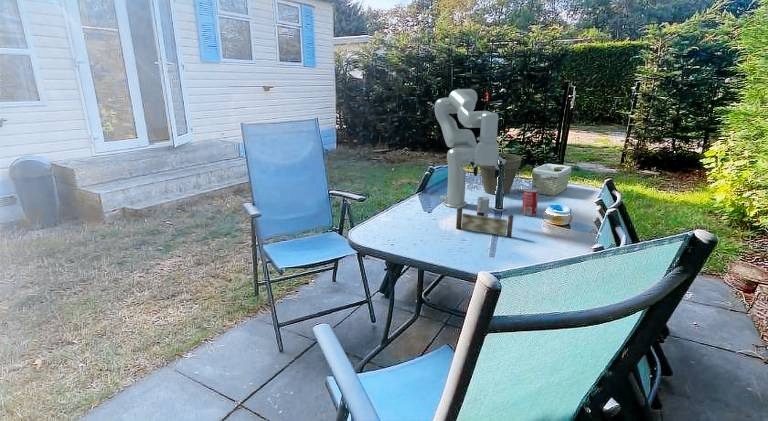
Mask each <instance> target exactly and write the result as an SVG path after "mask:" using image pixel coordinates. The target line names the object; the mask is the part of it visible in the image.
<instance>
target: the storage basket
mask: <svg viewBox="0 0 768 421" xmlns="http://www.w3.org/2000/svg"><path fill="white" fill-rule="evenodd" d="M572 169H573V168H572V165H571V166H570V165H563V164H556V163H554V164H553V163H544V164H542V165H540V166H538V167H537V166H536V167H535V168H533V170H532V174H531V175H532V180H531V182H532V183H531V184H532V185H531V189H537V190H538V194H540V195H547V196H552V197H554V196H557V195H558V194H561V193H562V192H564V191H565V190H567V188H568V185H569V180H570V177H571V173H572ZM555 170H559V171H555Z"/></svg>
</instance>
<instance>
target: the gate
mask: <svg viewBox="0 0 768 421" xmlns="http://www.w3.org/2000/svg"><path fill="white" fill-rule="evenodd" d="M507 227H508V219H504V218H503V219H502V218H498V217H490V216H488V217H484V216H477V214H468V213H462V225H461V230H462V229H463V230H469V231H475V232H480V233H481V232H482V233H486V234H487V233H489V234H495V235H501V236H507Z"/></svg>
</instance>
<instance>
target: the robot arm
mask: <svg viewBox="0 0 768 421" xmlns="http://www.w3.org/2000/svg"><path fill="white" fill-rule="evenodd" d="M477 101H478V94H477V91H476V90H475V89H472V88H459V89H458V88H457V89H453V90H452V91H451V92H450V93H449V95H448V97H441V98H438V99H437V100H436V101H435V103H434V115H435V118H436V120H437V122H438V123H439V125H440V127H441V128H440V129H441V131H442V132H441V133H442V135H443V139H444V141H445V144H446V145H445V146H447V148H450V149H449V150H447V154H446V161H447V190H446V191H447V192H446V193H447V194H446V195H444V194H443V195H439V198H440V200H443V204H444V206H446V207H448V208H454V209H457V208H458V207H461V208H465V207H467V206H468V201H465V200H466V199H465V195H466V179H467V178H466V177H467V173H466V171H465V169H464V167H463V166H468V165H471V166H472V168H473V173H472V174H473V175H474V177H477V176H478V171H479V170H478V169H479V168H478V166H479V165H489V166H495V167H496V170H495V178H497V177H498V176H499V169H500V168H501V167H502V166H503V165H504V164H505V162H506V160H505V159H503V158H502V157H500V156H499V153H500V151H499V143H498V142H497V141H498V139H497V138H498V128H499V127H498V125H499V114H498V113H496V112H491V111H488V110H482V111H481V110H476V111H474V110H475V108H476V104H477ZM450 114H457V119H458V121H459V123H460V124H461V125H462V126H463V127H465V128H466V129H464V128H463V129H462V128H459V127H458V124H457V122H456V120H455V118H453V116H451V115H450ZM467 128H468V129H467ZM472 128H473V129H474V128H475V129H476V128H480V129H479V130H480V134H479V136H478V137H476V136H475V134H474V132H473V131H472V130H471V129H472ZM477 141H478V142H477ZM498 160H500V161H502V163H501V165H499V164H498Z"/></svg>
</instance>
